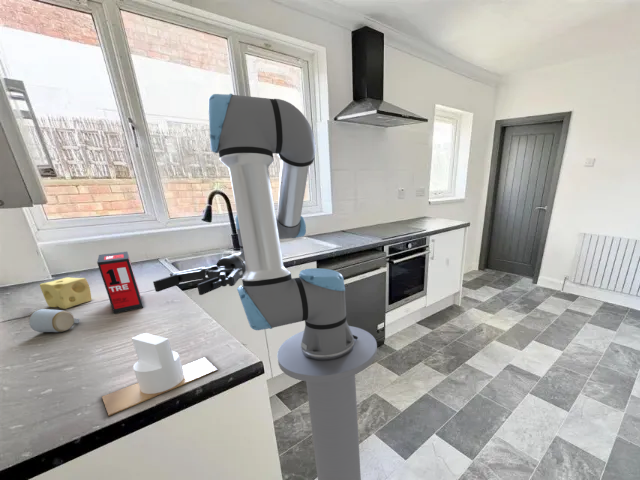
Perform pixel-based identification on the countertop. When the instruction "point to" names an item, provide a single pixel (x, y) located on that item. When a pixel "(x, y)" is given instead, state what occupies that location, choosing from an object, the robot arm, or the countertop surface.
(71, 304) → the cheese
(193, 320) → the countertop surface
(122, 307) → the cleaning product box
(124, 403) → the tan rectangular plate
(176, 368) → the cylinder with rectangular tab
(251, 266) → the robot arm
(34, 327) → the ceramic mug
